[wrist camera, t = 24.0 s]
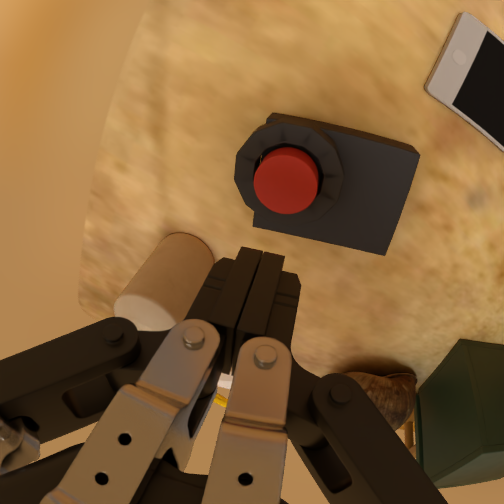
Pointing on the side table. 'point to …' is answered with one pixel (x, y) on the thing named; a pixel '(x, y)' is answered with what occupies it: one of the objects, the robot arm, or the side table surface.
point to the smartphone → (472, 77)
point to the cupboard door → (420, 438)
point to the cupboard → (464, 415)
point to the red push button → (286, 180)
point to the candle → (166, 284)
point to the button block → (334, 182)
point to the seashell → (390, 394)
